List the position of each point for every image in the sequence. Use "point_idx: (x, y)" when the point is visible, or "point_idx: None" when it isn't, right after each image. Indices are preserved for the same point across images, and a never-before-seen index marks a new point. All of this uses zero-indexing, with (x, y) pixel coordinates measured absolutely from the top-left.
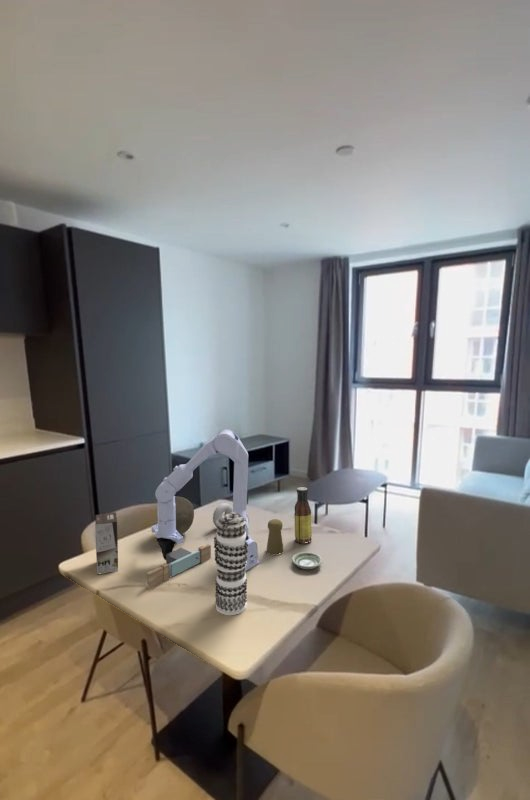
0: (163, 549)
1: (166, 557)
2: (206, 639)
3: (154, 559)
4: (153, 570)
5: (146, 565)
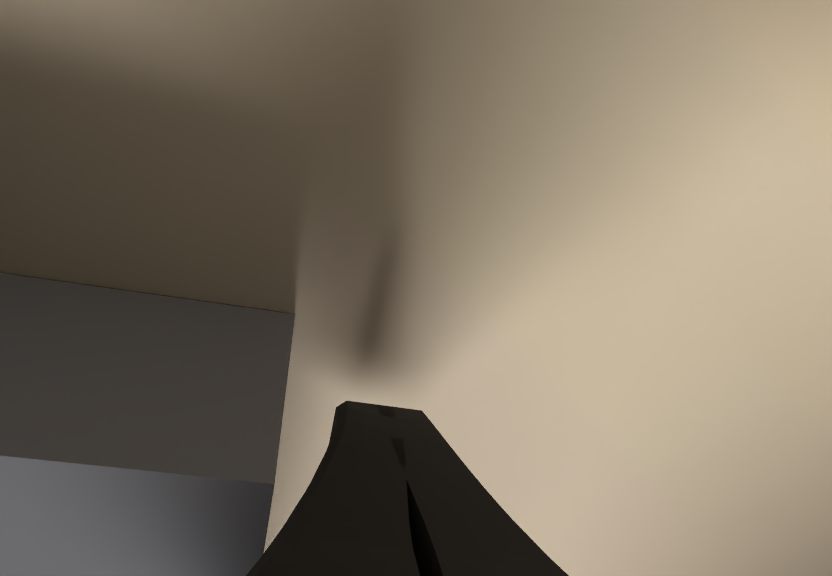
0: (378, 573)
1: (260, 422)
2: None
3: (713, 381)
4: None
5: (720, 115)
